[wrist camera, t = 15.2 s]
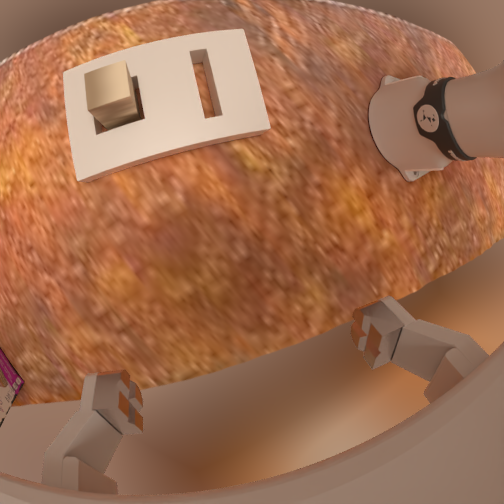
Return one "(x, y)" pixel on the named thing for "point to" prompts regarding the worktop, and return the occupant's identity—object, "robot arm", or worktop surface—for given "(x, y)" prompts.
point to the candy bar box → (8, 386)
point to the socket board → (168, 102)
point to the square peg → (112, 95)
